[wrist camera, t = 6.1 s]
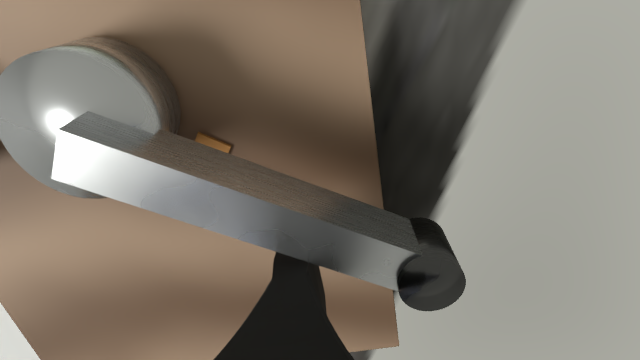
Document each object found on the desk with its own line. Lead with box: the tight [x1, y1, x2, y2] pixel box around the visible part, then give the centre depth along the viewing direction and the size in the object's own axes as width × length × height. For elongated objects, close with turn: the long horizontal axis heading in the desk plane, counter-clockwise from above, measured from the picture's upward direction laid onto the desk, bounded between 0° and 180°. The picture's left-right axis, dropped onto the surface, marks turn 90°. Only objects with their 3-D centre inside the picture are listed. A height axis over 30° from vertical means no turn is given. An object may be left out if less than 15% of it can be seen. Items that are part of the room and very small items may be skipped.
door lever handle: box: [0, 37, 466, 311], centre depth 10 cm, size 12×4×3 cm, turn 67°
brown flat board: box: [0, 0, 399, 360], centre depth 12 cm, size 18×14×3 cm
